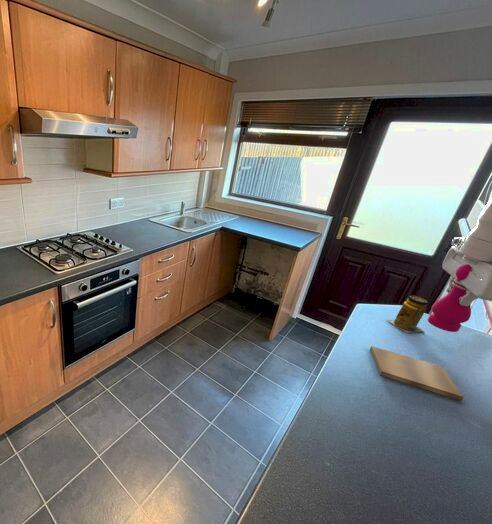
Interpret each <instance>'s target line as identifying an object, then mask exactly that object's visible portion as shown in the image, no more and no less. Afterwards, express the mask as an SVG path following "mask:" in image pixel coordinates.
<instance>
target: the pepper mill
mask: <svg viewBox="0 0 492 524" xmlns="http://www.w3.org/2000/svg"><path fill="white" fill-rule="evenodd" d="M470 271H471V272H472V268H471V266H470V265H468V264H465V265H462V266H460V267H459V268H458V269H457V270H456V272H455V274H456V277H457V280H456V279H454V282H452V284H453V288H452V290H451V291H450V292H449V293H448V292H447V294H446V295H444V296H442V297H441V298H439V299H438V300H437V301H435V302H434V303H433V304H432V305H431V312H432V313H430V314H429V316H428V318H427V322H428V323H429V324H430V325H431V326H433V327H435V328H437V329H439V330H442V331H445V332H450V333H457V332H459V330H460V329H461V327H462V324H463V323H466V322H468V321H469V320H470V318H471V315H472V308H471V304H470V305H469V306H464V305H461V304H460V303H459V302H458V299H459V298H460V296H462V297H463V296H464V295H466V294H467V293H466V291H467V290H468V289H467V288H466V287H464V286H463V285H462V284H461V283H460V281H461V280H464V279H466V278H467V277H468V275H469V272H470Z"/></svg>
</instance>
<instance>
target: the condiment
mask: <svg viewBox="0 0 492 524" xmlns="http://www.w3.org/2000/svg"><path fill="white" fill-rule="evenodd" d="M428 304H429V302H428V300H427V299H425V298H423V297H420V296H417V295H409V296H408V297H407V298H406V301H404V302H403V303H402V305H401V308H400V309H399V311H398V312H397V314H396V316H395V318H394V319H391V320H390V319H389V320H388V319H387V321H388V323H391V324H392V325H393V326H395V327H397V328H398V329H400V330H401V331H403V332H404V333H407V334H410V333H423V332H425V330H424V329H422V328H420V327H419V326H418V324H419V323H420V322H421V319H422V318H423V316H424V314H425V312H426V311H427V309H426V308H427V306H428Z"/></svg>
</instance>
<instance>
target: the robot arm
mask: <svg viewBox="0 0 492 524" xmlns="http://www.w3.org/2000/svg"><path fill="white" fill-rule="evenodd" d="M465 264H468V265H470V266H471V268H472V272H471V271H470V272H469V275H468V277H467V278H466V279H464V280H461V281H460V283H461V284H462V285H463V286H464V287H466V288H467V289H468V290H467V291H466V293H467V294H466V295H464V296H463V297H462V296H460V298H459V299H458V302H459V303H460V304H461V305H464V306H469V305H470V306H471V304H472V303H473V302H474V301H476V300H478V299H479V300H484V301H488V302H492V197H491V198H490V199H489V200H488V202H487V204H486V205H485V206H484V208H483V210H482V211H481V212H480V214H479V216H478V219H477V223H476V226H475V227H474V228H473V229H472V230H471V231H469V233H468V234H467V236H465V237H454V238H453V239H452V241H451V247H450V248H449V250H448V251H447V253H446V255H445V256H444V259H443V261H442V266H441V267H442V269H443V270H444V271H445V272H446V273H447V274H449V275H450V277H449V281H448V287H447V288H446V290H445V291H446V292H447V294H448V293H449V292H450V291H451V290H452V288H453V284H452V282H454V279H456V280H457V277H456V274H455V272H456V270H457V269H458V268H459V267H460V266H462V265H465Z"/></svg>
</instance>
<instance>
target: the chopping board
mask: <svg viewBox="0 0 492 524" xmlns="http://www.w3.org/2000/svg"><path fill="white" fill-rule="evenodd" d="M369 352H370V354H371V357H372V358H373V362H374V365H375V367H376V369H377V372H378V373H379V376H382V377H385V378H388V379H391V380H395V381H397V382H401V383H404V384H407V385H409V386H413V387H416V388H420V389H423V390H425V391H430V392H432V393H436V394H438V395H441V396H445V397H448V398H451V399H454V400H457V401H462V400H463V399H464V395H463V393H462V392H461V391H460V389H459V388H458V386H457V385H456V383H455V382H454V381H453V379H452V378H451V376H450V375H449V373H448V372H447V370H446V368H445V367H444V366H443V365H438V364H435V363H432V362H428V361H425V360H421V359H418V358H414V357H411V356H408V355H405V354H400V353H397V352H394V351H390V350H387V349H383V348H380V347H377V346H373V345H372V346H370V348H369Z"/></svg>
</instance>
